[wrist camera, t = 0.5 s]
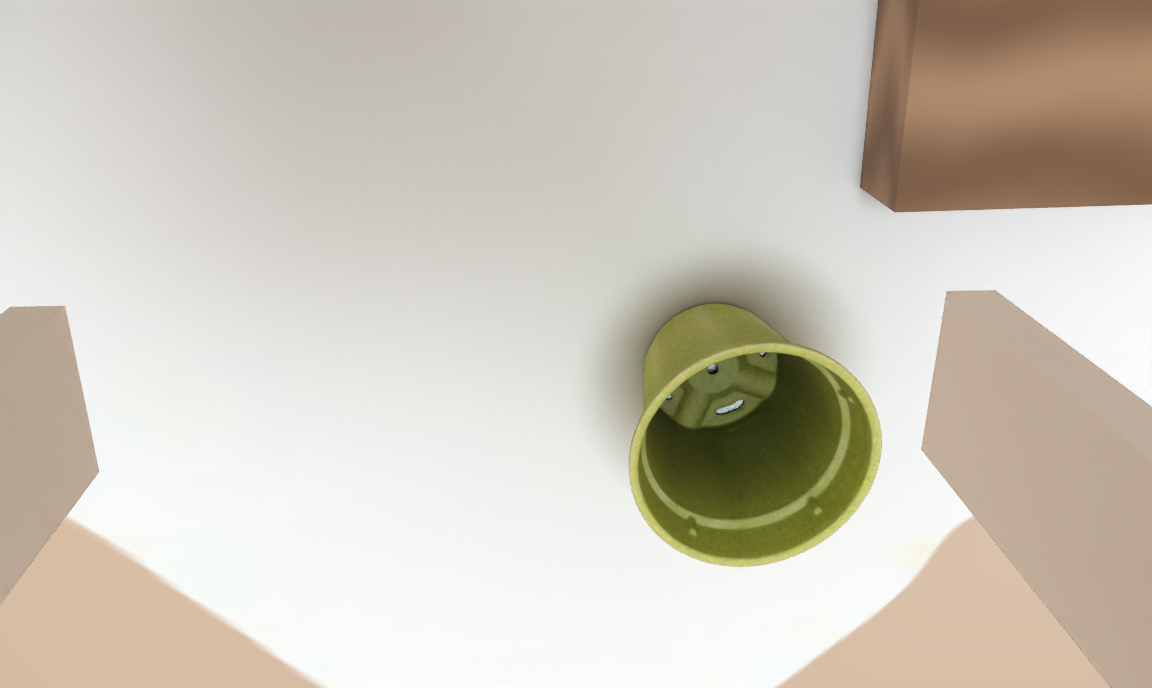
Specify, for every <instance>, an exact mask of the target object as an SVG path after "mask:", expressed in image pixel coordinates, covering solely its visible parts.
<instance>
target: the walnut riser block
mask: <svg viewBox="0 0 1152 688" xmlns="http://www.w3.org/2000/svg"><path fill="white" fill-rule="evenodd" d="M860 187H861V188H862V189H863V190H865V191H866V192H867V193H869V194H870V195H872V196H873V197H874V198H876V199H877V200H878V201H880V202H881V203H883V204H884V205H885V206H887V207H888V208H890V209H891V210H892V211H894V212H918V211H950V210H983V209H1015V208H1048V207H1080V206H1113V205H1145V204H1152V0H879V3H878V13H877V23H876V33H875V44H874V54H873V64H872V74H871V84H870V94H869V104H868V114H867V124H866V135H865V145H864V155H863V165H862V175H861V185H860Z"/></svg>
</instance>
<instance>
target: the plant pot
mask: <svg viewBox="0 0 1152 688" xmlns="http://www.w3.org/2000/svg"><path fill="white" fill-rule="evenodd" d="M759 352H766V355H765V356H764V357H761V356H760V353H759ZM712 364H716V365H717V367H718V372H717V373H715V374H709V373H708V370H707V367H708V366H710V365H712ZM670 394H671V395H672V399H671V400H670V399H666V398H667V397H668V396H669V395H670ZM738 400H744V403H743V405H742V406H741V407H740V408H738V409H737V410H735V411H733V412H730V413H728V414H722V415H718V414H716V411H717V409H720V408H722V407H726V406H729V405H731V404H733V403H735V402H736V401H738ZM881 448H882V435H881V428H880V422H879V418H878V415H877V412H876V409H875V407H874V405H873V402H872V400H871V398H870V396H869V395H868V393H867V391H866V390H865V389H864V387H863V386H862V385H861V383H860V382H859V381H858V380H857V379H856V378H855V377H854V376H853V375H852V374H851V373H850V372H849V371H848V370H847V369H846V368H844V367H843V366H842V365H841V364H839V363H838V362H836V361H835V360H833V359H832V358H830V357H828V356H826V355H824V354H822V353H820V352H818V351H815V350H813V349H810V348H808V347H804V346H800V345H797V344H791V343H789V342H788V341H787V340H786V339H784V338H783V337H782V336H781V335H780V334H778V333H777V332H776V331H775V330H773V329H772V328H771V327H770V326H769V325H768V324H766V323H765V322H764V321H763V320H761V319H760V318H759V317H758V316H756V315H755V314H754V313H751V312H749V311H747V310H745V309H742V308H739V307H735V306H731V305H727V304H721V303H711V304H704V305H699V306H696V307H692V308H690V309H687V310H685V311H683V312H681V313H679V314H677V315H676V316H674V317H673V318H672V319H670V320H669V321H668V322H666V323H665V324H664V326H663V327H662V328H661V329H660V330H659V331H658V333H657V334H656V336H655V338H654V340H653V342H652V343H651V345H650V347H649V350H648V352H647V355H646V358H645V362H644V413H643V414H642V416H641V418H640V420H639V422H638V425H637V427H636V430H635V432H634V435H633V439H632V443H631V447H630V453H629V477H630V485H631V489H632V493H633V496H634V499H635V502H636V504H637V506H638V508H639V510H640V512H641V514H642V516H643V517H644V519H645V521H646V522H647V523H648V525H649V526H650V527H651V528H652V530H653V531H654V532H655V533H656V534H657V535H658V536H659V537H660V538H661V539H662V540H663V541H665V542H666V543H667V544H669V545H670V546H671V547H673V548H674V549H676V550H677V551H679V552H681V553H684V554H686V555H688V556H690V557H692V558H695V559H698V560H700V561H703V562H707V563H711V564H716V565H723V566H732V567H749V566H758V565H765V564H770V563H774V562H779V561H781V560H785V559H787V558H790V557H792V556H795V555H798V554H800V553H803V552H805V551H807V550H809V549H811V548H813V547H815V546H816V545H818V544H820V543H821V542H823V541H824V540H826V539H827V538H828V537H830V536H831V535H832V534H834V533H835V532H836V531H837V530H838V529H839V528H840V527H841V526H842V525H843V524H845V523H846V522H847V521H848V520H849V518H850V517H851V516H852V515H853V514H854V513H855V512H856V510H857V509H858V507H859V506H860V505H861V503H862V501H863V500H864V498H865V497H866V495H867V494H868V492H869V491H870V489H871V487H872V484H873V482H874V479H875V476H876V474H877V470H878V467H879V463H880V457H881Z"/></svg>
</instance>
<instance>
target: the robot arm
mask: <svg viewBox="0 0 1152 688" xmlns="http://www.w3.org/2000/svg"><path fill="white" fill-rule="evenodd" d="M921 450H922V451H923V452H924V453H925V455H926V456H927V457H928V458H929V460H930V461H931V462H932V464H933V465H934V466H935V467H936V469H937V470H938V471H939V472H940V474H941V475H942V476H943V477H944V479H945V480H946V481H947V482H948V484H949V485H950V486H951V487H952V489H953V490H954V491H955V492H956V494H957V495H958V496H959V497H960V499H961V500H962V501H963V503H964V504H965V505H966V506H967V508H968V509H969V510H970V511H971V513H972V514H973V515H974V516H975V518H976V519H977V520H978V521H979V523H980V524H981V525H982V526H983V528H984V529H985V530H986V531H987V533H988V534H989V535H990V536H991V538H992V539H993V540H994V541H995V543H996V544H997V545H998V547H999V548H1000V549H1001V550H1002V552H1003V553H1004V554H1005V555H1006V557H1007V558H1008V559H1009V560H1010V562H1011V563H1012V564H1013V565H1014V567H1015V568H1016V569H1017V570H1018V572H1019V573H1020V574H1021V575H1022V577H1023V578H1024V579H1025V580H1026V582H1027V583H1028V584H1029V585H1030V587H1031V588H1032V589H1033V591H1034V592H1035V593H1036V594H1037V596H1038V597H1039V598H1040V599H1041V600H1042V602H1043V603H1044V604H1045V605H1046V607H1047V608H1048V609H1049V611H1050V612H1051V613H1052V614H1053V615H1054V617H1055V618H1056V619H1057V621H1058V622H1059V623H1060V625H1061V626H1062V627H1063V628H1064V629H1065V631H1066V632H1067V633H1068V635H1069V636H1070V637H1071V638H1072V640H1073V641H1074V642H1075V643H1076V644H1077V646H1078V647H1079V648H1080V650H1081V651H1082V652H1083V653H1084V655H1085V656H1086V657H1087V658H1088V660H1089V661H1090V662H1091V663H1092V665H1093V666H1094V667H1095V668H1096V670H1097V671H1098V672H1099V674H1100V675H1101V676H1102V677H1103V679H1104V680H1105V681H1106V682H1107V683H1108V685H1109V686H1110V687H1111V688H1152V407H1151V406H1150V405H1149V404H1147V403H1146V402H1145V401H1143V400H1142V399H1141V398H1139V397H1138V396H1137V395H1135V394H1134V393H1132V392H1131V391H1130V390H1128V389H1127V388H1126V387H1124V386H1123V385H1122V384H1120V383H1119V382H1118V381H1116V380H1115V379H1114V378H1112V377H1111V376H1110V375H1108V374H1107V373H1106V372H1104V371H1103V370H1102V369H1100V368H1099V367H1098V366H1096V365H1095V364H1094V363H1092V362H1091V361H1089V360H1088V359H1087V358H1085V357H1084V356H1083V355H1081V354H1080V353H1079V352H1077V351H1076V350H1075V349H1073V348H1072V347H1071V346H1069V345H1068V344H1067V343H1065V342H1064V341H1063V340H1061V339H1060V338H1059V337H1057V336H1056V335H1055V334H1053V333H1052V332H1051V331H1049V330H1048V329H1046V328H1045V327H1044V326H1042V325H1041V324H1040V323H1038V322H1037V321H1036V320H1034V319H1033V318H1032V317H1030V316H1029V315H1028V314H1026V313H1025V312H1024V311H1022V310H1021V309H1020V308H1018V307H1017V306H1016V305H1014V304H1013V303H1012V302H1010V301H1009V300H1007V299H1006V298H1005V297H1003V296H1002V295H1001V294H999V293H998V292H997V291H995V290H991V291H947V293H946V299H945V305H944V312H943V318H942V324H941V330H940V337H939V343H938V349H937V355H936V361H935V368H934V374H933V380H932V386H931V393H930V399H929V405H928V411H927V418H926V424H925V430H924V436H923V442H922V449H921ZM98 473H99V469H98V464H97V459H96V454H95V449H94V444H93V440H92V435H91V430H90V425H89V420H88V415H87V411H86V406H85V401H84V396H83V391H82V386H81V382H80V377H79V372H78V367H77V362H76V357H75V352H74V348H73V343H72V338H71V333H70V328H69V323H68V319H67V314H66V309H65V306H37V307H10V308H8V309H7V310H6V311H4V312H3V313H2V314H1V315H0V605H1V603H2V602H3V601H4V599H5V598H6V597H7V595H8V594H9V593H10V591H11V590H12V589H13V587H14V586H15V584H16V583H17V582H18V580H19V579H20V578H21V576H22V575H23V573H24V572H25V571H26V570H27V568H28V567H29V566H30V564H31V563H32V562H33V560H34V559H35V558H36V556H37V555H38V553H39V552H40V551H41V549H42V548H43V547H44V545H45V544H46V543H47V541H48V540H49V539H50V537H51V536H52V535H53V533H54V532H55V530H56V529H57V528H58V527H59V525H60V524H61V523H62V521H63V520H64V518H65V517H66V516H67V514H68V513H69V512H70V510H71V509H72V508H73V506H74V505H75V504H76V502H77V501H78V500H79V498H80V497H81V496H82V494H83V493H84V492H85V490H86V489H87V487H88V486H89V485H90V483H91V482H92V481H93V479H94V478H95V477H96V475H97V474H98Z"/></svg>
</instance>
